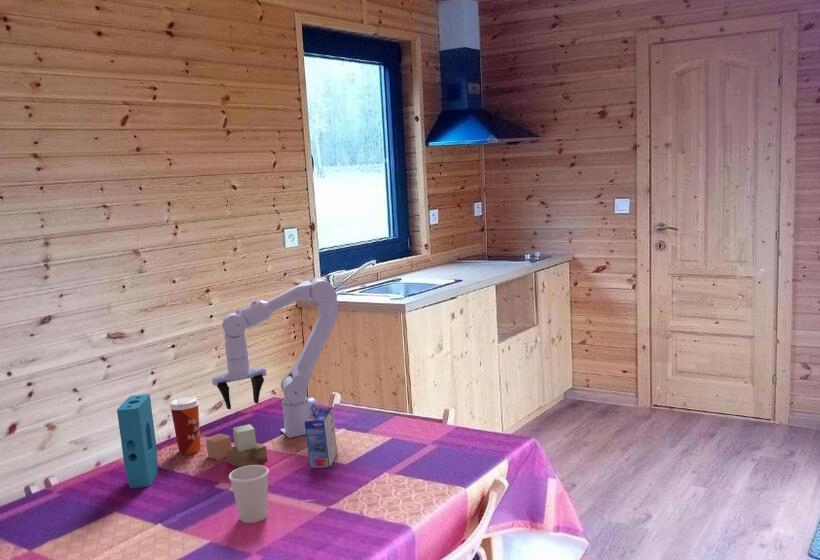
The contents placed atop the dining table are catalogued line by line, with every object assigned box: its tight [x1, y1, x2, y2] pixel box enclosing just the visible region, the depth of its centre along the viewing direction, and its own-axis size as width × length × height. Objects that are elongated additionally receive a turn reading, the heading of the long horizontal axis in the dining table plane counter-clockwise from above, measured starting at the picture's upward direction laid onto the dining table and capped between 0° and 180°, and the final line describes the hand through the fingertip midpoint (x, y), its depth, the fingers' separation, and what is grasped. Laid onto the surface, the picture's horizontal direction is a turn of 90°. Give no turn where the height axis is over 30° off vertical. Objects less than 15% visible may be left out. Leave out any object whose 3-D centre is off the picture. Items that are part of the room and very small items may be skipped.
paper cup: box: [169, 396, 201, 455], centre depth 207 cm, size 8×8×14 cm
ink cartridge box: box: [304, 403, 338, 469], centre depth 192 cm, size 10×6×14 cm, turn 174°
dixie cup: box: [228, 464, 270, 524], centre depth 163 cm, size 8×8×10 cm
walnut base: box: [227, 442, 268, 468], centre depth 196 cm, size 7×7×4 cm
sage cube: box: [232, 423, 257, 452], centre depth 196 cm, size 4×4×5 cm
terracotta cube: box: [205, 433, 233, 461], centre depth 202 cm, size 4×4×5 cm
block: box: [116, 393, 159, 489], centre depth 188 cm, size 12×5×20 cm, turn 4°
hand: (242, 405), depth 211 cm, fingers open, 7 cm apart
